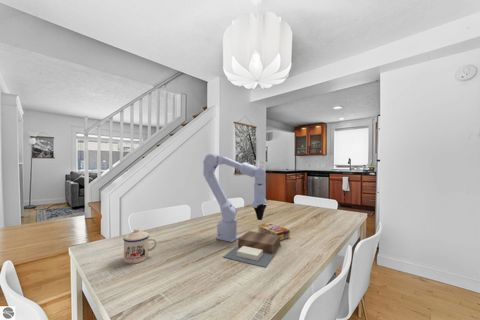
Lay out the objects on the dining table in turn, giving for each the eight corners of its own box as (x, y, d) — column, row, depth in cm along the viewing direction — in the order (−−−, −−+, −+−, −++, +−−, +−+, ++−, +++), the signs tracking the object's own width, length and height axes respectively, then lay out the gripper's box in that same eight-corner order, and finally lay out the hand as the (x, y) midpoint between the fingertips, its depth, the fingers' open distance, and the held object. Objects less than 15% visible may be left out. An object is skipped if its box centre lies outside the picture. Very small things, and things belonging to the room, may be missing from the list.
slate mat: (223, 257, 82) (223, 256, 82) (235, 247, 92) (235, 246, 92) (265, 267, 74) (265, 266, 74) (274, 255, 84) (274, 254, 84)
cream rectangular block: (243, 245, 88) (243, 250, 88) (236, 251, 83) (236, 256, 83) (262, 249, 84) (262, 254, 84) (257, 255, 79) (257, 260, 79)
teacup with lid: (121, 266, 75) (121, 234, 75) (125, 255, 83) (125, 227, 83) (156, 260, 79) (156, 230, 79) (156, 251, 88) (157, 224, 88)
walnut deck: (238, 247, 92) (238, 238, 92) (248, 238, 103) (249, 230, 103) (272, 254, 85) (272, 245, 85) (280, 244, 96) (280, 235, 96)
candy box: (276, 232, 100) (257, 225, 113) (277, 241, 100) (258, 233, 113) (289, 229, 105) (270, 222, 118) (290, 237, 105) (270, 230, 117)
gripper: (262, 194, 94) (262, 224, 94) (272, 191, 107) (272, 217, 107) (248, 193, 97) (248, 222, 97) (259, 190, 110) (259, 215, 110)
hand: (259, 219), depth 102 cm, fingers closed
